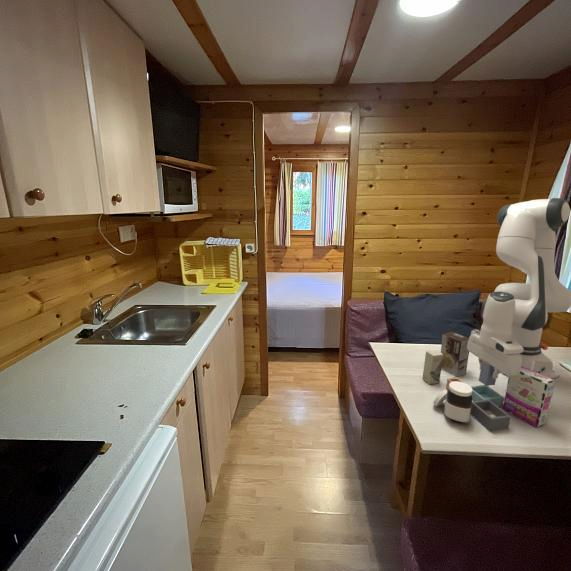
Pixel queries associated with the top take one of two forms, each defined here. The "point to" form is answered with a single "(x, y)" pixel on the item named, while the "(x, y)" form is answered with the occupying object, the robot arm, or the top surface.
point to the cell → (486, 373)
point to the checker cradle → (490, 415)
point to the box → (432, 366)
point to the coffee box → (454, 353)
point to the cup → (452, 381)
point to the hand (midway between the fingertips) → (488, 373)
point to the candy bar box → (529, 396)
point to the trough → (486, 394)
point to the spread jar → (456, 401)
